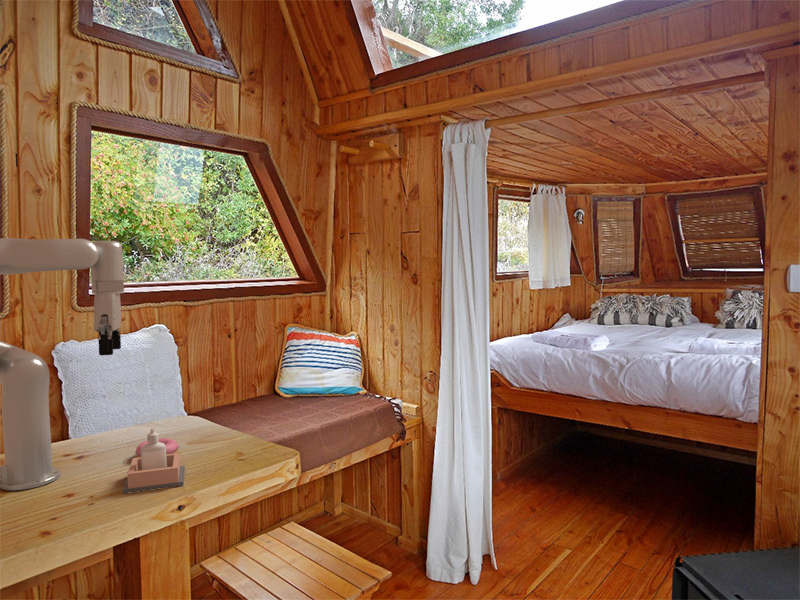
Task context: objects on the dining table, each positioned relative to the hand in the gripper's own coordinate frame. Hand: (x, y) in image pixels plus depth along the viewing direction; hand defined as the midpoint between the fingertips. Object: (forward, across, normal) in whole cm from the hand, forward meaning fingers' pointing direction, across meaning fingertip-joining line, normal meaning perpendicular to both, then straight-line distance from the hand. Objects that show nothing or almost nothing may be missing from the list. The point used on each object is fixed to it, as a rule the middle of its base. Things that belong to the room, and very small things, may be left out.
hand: (110, 351), depth 149 cm
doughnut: (+30, +1, +11) cm, 32 cm away
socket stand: (+29, +19, +13) cm, 37 cm away
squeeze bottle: (+28, +19, +13) cm, 36 cm away
